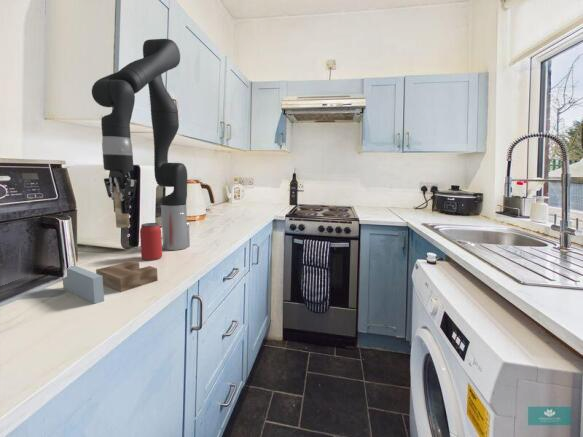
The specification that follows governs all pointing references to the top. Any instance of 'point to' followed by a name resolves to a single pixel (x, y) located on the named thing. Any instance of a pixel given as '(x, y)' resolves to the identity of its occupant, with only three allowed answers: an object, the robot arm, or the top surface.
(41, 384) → the top surface
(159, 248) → the beer can
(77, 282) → the wall
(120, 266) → the block
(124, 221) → the dowel
